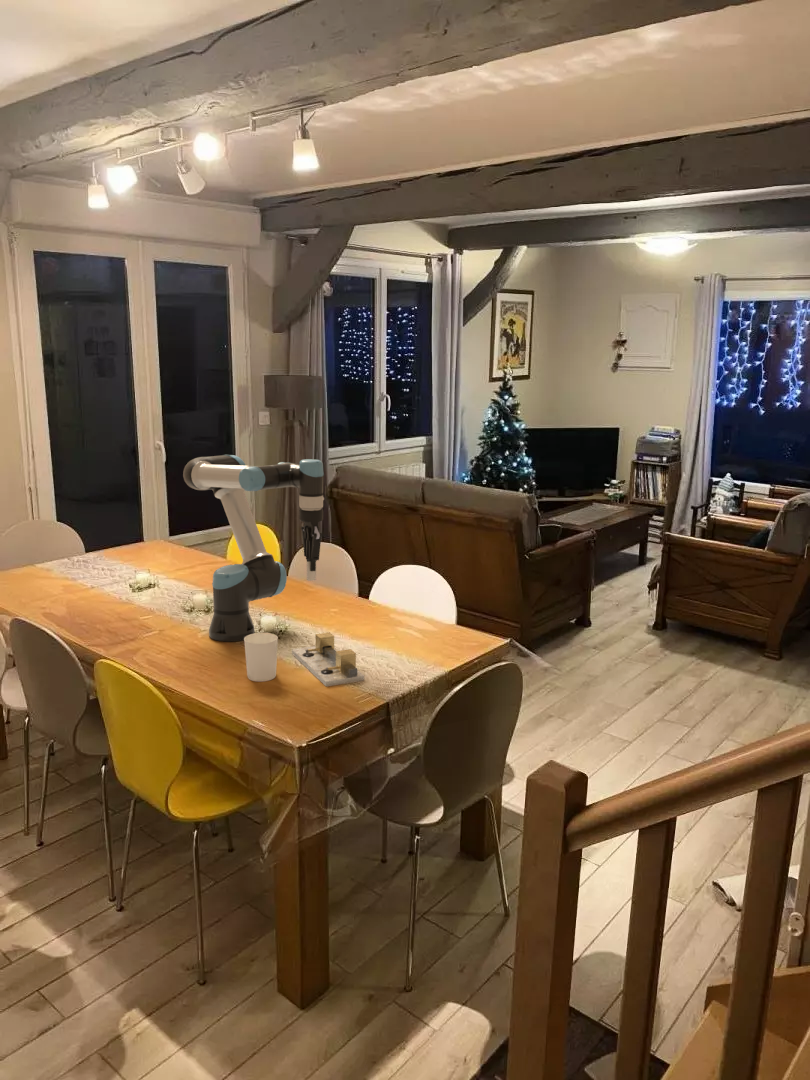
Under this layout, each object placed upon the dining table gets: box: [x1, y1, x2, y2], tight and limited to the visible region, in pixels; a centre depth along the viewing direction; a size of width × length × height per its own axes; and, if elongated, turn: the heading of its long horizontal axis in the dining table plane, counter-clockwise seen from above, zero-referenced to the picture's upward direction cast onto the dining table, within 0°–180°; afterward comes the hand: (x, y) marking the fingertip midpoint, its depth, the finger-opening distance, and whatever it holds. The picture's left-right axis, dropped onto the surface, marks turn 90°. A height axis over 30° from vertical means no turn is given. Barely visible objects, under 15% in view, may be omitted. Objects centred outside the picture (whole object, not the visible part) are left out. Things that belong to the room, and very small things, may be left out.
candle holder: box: [243, 632, 279, 683], centre depth 242 cm, size 10×10×12 cm
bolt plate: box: [291, 645, 365, 687], centre depth 251 cm, size 12×30×7 cm, turn 26°
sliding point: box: [305, 631, 335, 653], centre depth 260 cm, size 9×4×5 cm, turn 117°
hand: (311, 579), depth 267 cm, fingers closed
